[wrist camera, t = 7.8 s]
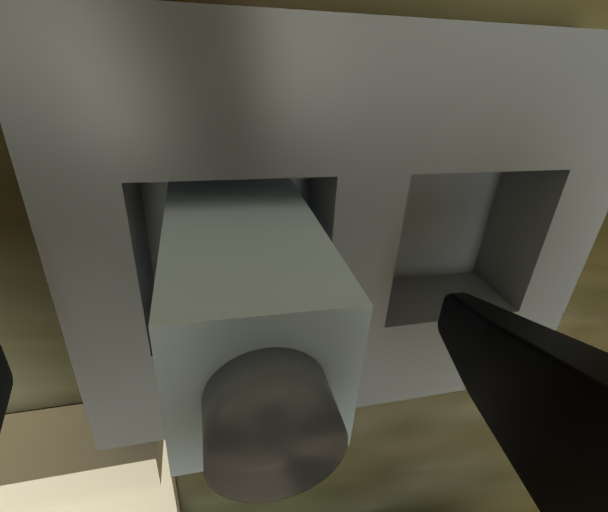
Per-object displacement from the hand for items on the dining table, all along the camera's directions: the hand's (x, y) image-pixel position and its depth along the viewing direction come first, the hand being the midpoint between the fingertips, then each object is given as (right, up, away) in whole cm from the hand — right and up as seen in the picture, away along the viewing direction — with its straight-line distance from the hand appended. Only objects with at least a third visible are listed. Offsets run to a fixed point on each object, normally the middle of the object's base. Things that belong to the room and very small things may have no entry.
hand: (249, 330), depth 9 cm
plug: (-1, +2, +5) cm, 5 cm away
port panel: (+2, +3, +6) cm, 7 cm away
